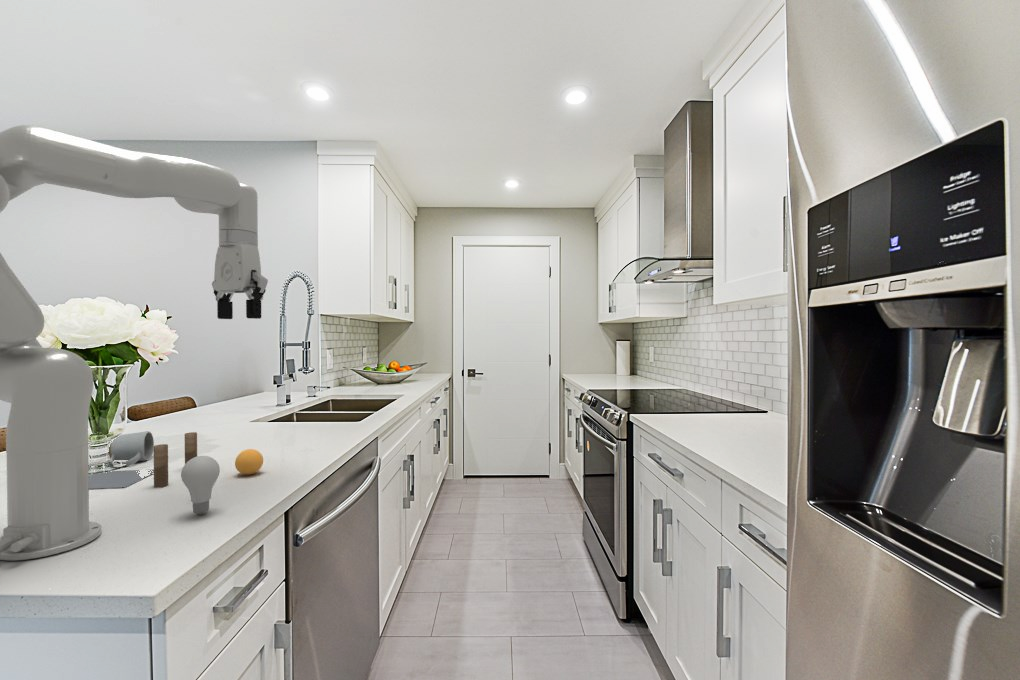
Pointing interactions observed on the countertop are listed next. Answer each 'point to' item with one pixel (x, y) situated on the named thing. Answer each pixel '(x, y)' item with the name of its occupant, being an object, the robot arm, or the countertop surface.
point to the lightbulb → (200, 481)
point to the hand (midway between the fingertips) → (239, 318)
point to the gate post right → (190, 446)
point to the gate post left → (160, 465)
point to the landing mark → (114, 479)
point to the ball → (249, 461)
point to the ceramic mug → (132, 447)
